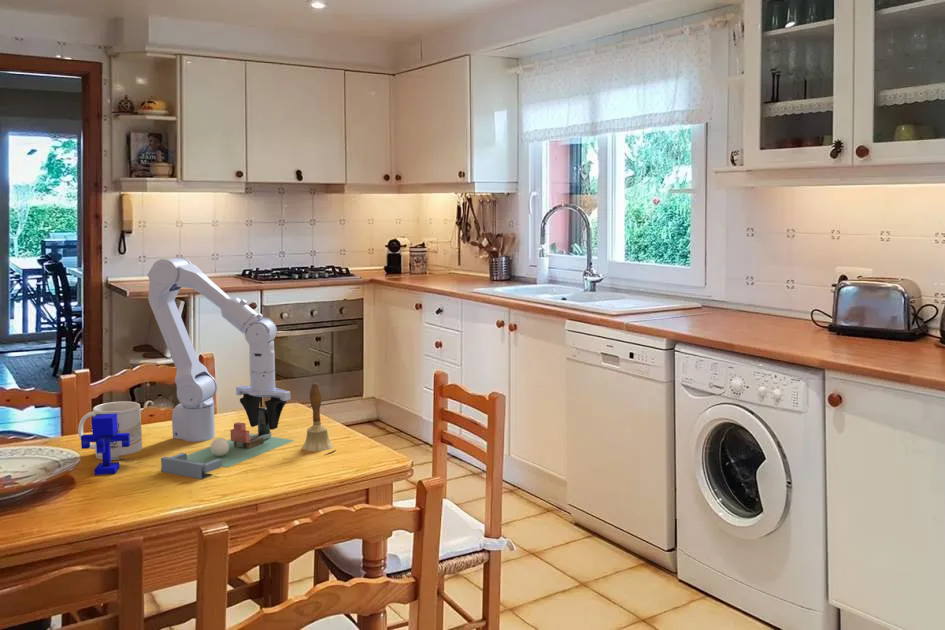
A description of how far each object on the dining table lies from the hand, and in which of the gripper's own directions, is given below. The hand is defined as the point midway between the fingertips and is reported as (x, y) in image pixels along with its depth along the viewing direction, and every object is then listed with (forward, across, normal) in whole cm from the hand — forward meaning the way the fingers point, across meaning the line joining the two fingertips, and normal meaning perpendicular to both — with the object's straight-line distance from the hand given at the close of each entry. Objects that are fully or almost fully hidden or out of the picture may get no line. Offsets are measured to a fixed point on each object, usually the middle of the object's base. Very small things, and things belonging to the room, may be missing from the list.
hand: (263, 427), depth 199 cm
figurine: (+4, -16, -32) cm, 36 cm away
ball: (+1, 0, -15) cm, 15 cm away
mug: (+4, -25, -22) cm, 33 cm away
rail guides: (+3, 0, -6) cm, 6 cm away
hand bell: (+4, +15, 0) cm, 16 cm away
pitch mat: (+4, 0, -9) cm, 10 cm away
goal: (+4, 0, -24) cm, 24 cm away
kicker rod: (+3, 0, -4) cm, 5 cm away
